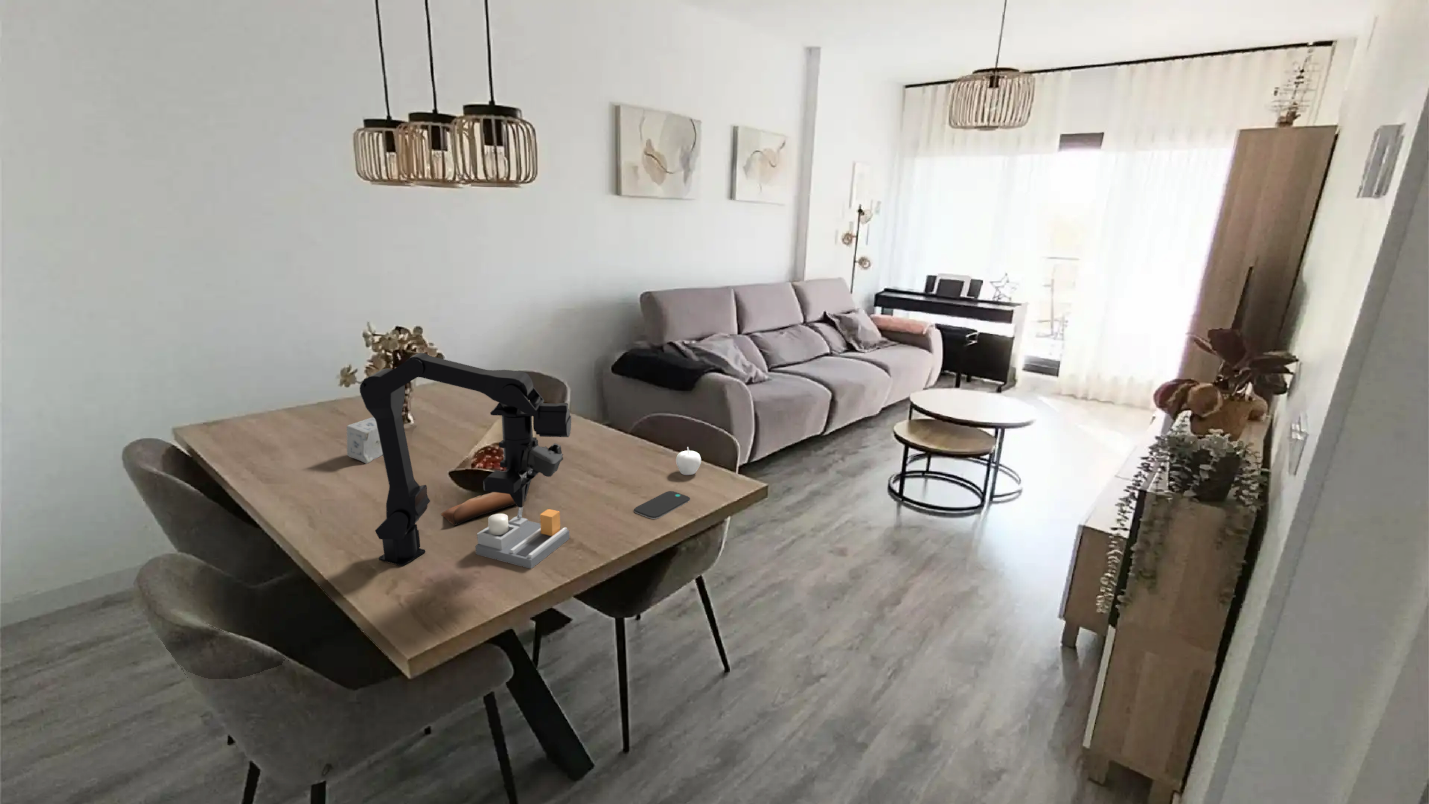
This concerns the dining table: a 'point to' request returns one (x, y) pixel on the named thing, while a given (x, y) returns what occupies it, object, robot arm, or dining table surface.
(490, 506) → the sunglasses case
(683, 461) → the plain white apple
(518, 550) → the panel
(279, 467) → the dining table surface
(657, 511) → the smartphone
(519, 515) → the toggle lever
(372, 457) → the white printed carton
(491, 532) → the button
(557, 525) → the slider knob
